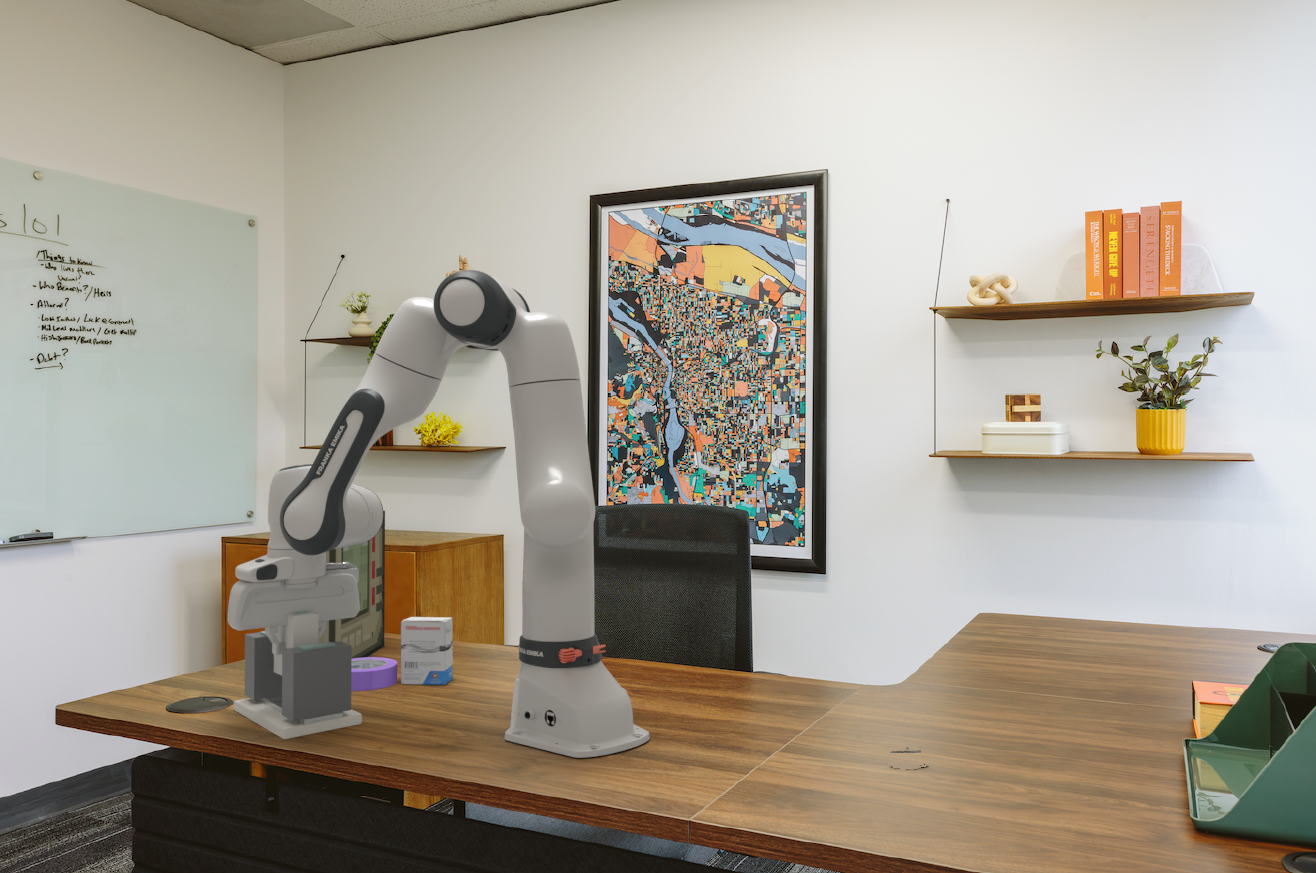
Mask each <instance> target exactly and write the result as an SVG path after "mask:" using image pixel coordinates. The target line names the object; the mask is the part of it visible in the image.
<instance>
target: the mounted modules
mask: <svg viewBox="0 0 1316 873" xmlns="http://www.w3.org/2000/svg"><path fill="white" fill-rule="evenodd" d="M351 658H352V645H349V644H346V643H343V642H340V641H338V642H326V643H319V644H311V645H304V646H298V647H294V648H286V649H282V676H281V675H279V674H277V673H275V672H274V654H273V653H272V642H271V641H270V640H269V638H268V636H267V635H266V633H265V630H262V631H259V632H251V633H245V634H244V696H246V697H247V698H251V699H253V700H257V699H263V698H269V697H275V696H281V695H282V715H283V716H285V717H286V718H288V719H290V720H292V721H296V720H301V719H307V718H312V717H317V716H322V715H328V714H333V713H338V712H343V711H349V710H351V709H352V691H351Z"/></svg>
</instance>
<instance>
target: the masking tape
mask: <svg viewBox="0 0 1316 873" xmlns="http://www.w3.org/2000/svg"><path fill="white" fill-rule="evenodd" d="M397 683H398V661H397V660H395V659H393V658H388V657H379V656H378V657H376V656H368V657H363V658H353V659H351V692H364V691H372V690H373V691H374V690H380V689H385V688H389V687H392V686H394V685H395V684H397Z"/></svg>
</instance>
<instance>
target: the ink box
mask: <svg viewBox="0 0 1316 873" xmlns="http://www.w3.org/2000/svg"><path fill="white" fill-rule="evenodd" d="M453 645H454V644H453V617H441V616H440V617H439V616H437V617H436V616H435V617H433V616H425V617H424V616H410V617H408V618H404V619H402V620H401V622H400V684H401V685H425V686H426V685H429V686H430V685H431V686H433V685H435V686H436V685H437V686H438V685H439V686H440V685H441V686H445V685H446V684H448V683H449V682H451V681H452V680H453V679H454V677H453V676H454V674H453V673H454V672H453V670H454V669H453V668H454V666H453V664H454V663H453V660H454V659H453V658H454V657H453V656H454V654H453Z"/></svg>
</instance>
